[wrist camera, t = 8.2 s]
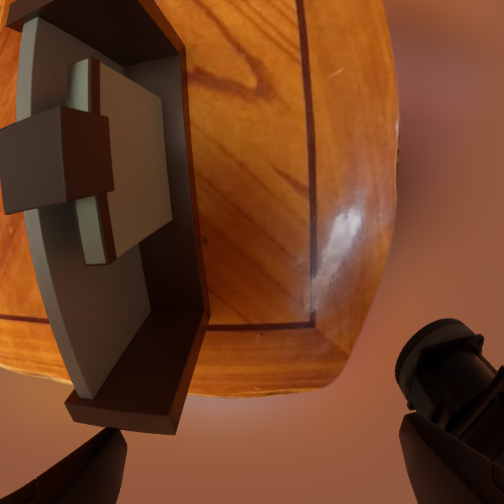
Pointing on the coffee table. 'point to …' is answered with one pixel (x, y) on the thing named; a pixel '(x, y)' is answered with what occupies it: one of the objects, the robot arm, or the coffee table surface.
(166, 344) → the window frame
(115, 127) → the pane
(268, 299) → the coffee table surface
